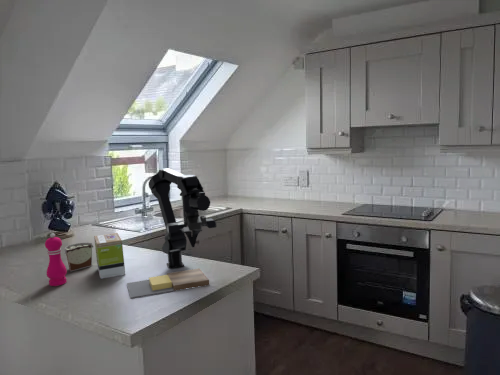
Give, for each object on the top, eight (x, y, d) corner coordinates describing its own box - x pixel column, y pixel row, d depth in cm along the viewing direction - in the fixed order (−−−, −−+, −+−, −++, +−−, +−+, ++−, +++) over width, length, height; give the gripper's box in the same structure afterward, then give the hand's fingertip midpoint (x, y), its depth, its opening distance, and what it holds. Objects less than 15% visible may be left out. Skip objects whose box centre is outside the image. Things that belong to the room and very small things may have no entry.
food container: (89, 262, 196) (86, 240, 195) (95, 265, 192) (93, 242, 191) (61, 269, 188) (59, 247, 186) (67, 272, 183) (64, 249, 182)
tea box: (97, 269, 186) (93, 235, 184) (121, 265, 190) (118, 232, 188) (99, 279, 172) (96, 242, 170) (125, 274, 176) (122, 239, 174)
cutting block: (167, 278, 169) (166, 273, 169) (199, 273, 173) (199, 268, 173) (173, 291, 155) (173, 285, 155) (209, 285, 159) (209, 279, 159)
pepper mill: (70, 279, 173) (65, 230, 171) (63, 286, 166) (58, 234, 164) (52, 280, 173) (46, 231, 171) (44, 287, 166) (38, 236, 163)
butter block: (149, 282, 163) (148, 277, 163) (167, 279, 166) (167, 274, 166) (152, 290, 155) (152, 285, 155) (172, 287, 157) (171, 281, 157)
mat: (127, 284, 164) (126, 283, 164) (166, 278, 169) (166, 276, 169) (130, 298, 149) (130, 297, 149) (174, 291, 154) (174, 290, 154)
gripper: (169, 213, 158) (172, 255, 160) (219, 208, 165) (221, 248, 167) (164, 209, 169) (168, 248, 171) (211, 204, 175) (213, 242, 177)
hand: (193, 246), depth 171 cm, fingers closed
